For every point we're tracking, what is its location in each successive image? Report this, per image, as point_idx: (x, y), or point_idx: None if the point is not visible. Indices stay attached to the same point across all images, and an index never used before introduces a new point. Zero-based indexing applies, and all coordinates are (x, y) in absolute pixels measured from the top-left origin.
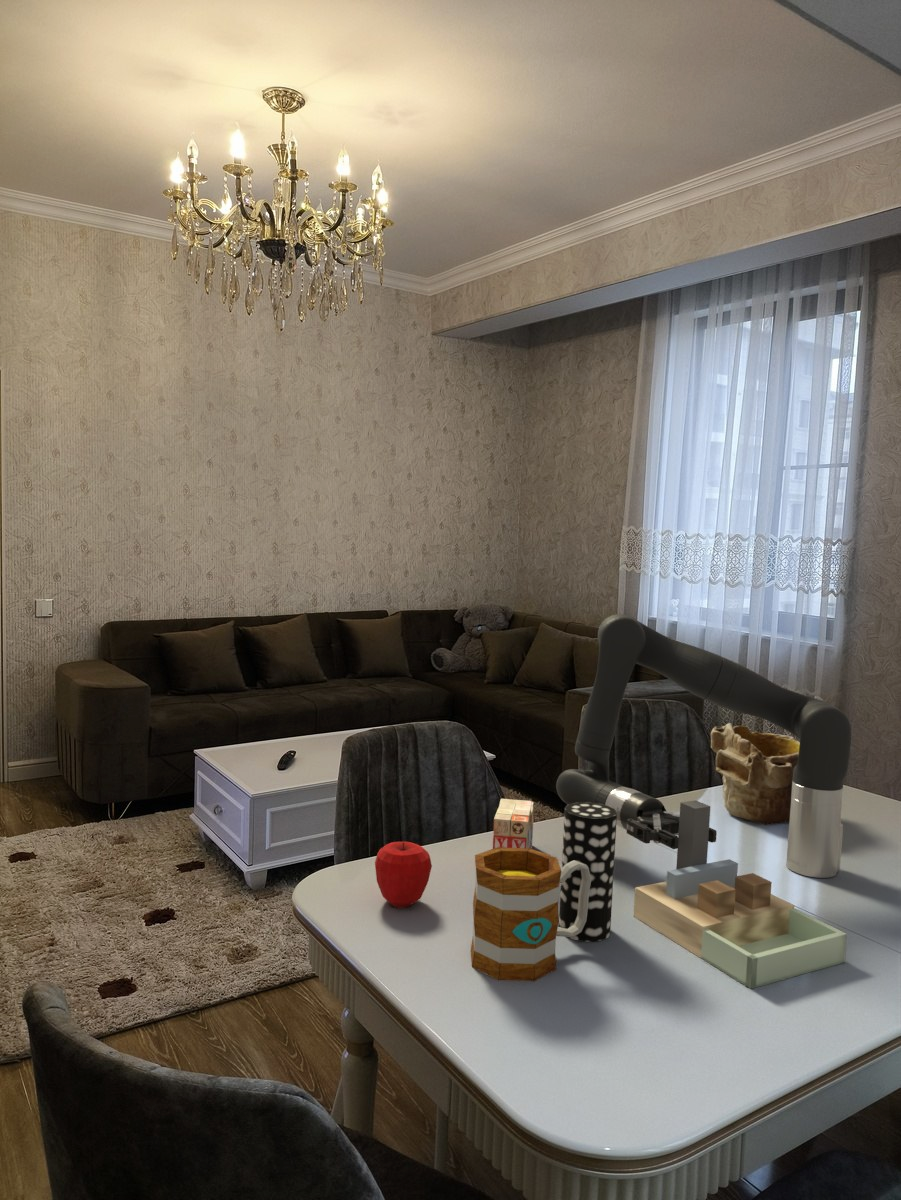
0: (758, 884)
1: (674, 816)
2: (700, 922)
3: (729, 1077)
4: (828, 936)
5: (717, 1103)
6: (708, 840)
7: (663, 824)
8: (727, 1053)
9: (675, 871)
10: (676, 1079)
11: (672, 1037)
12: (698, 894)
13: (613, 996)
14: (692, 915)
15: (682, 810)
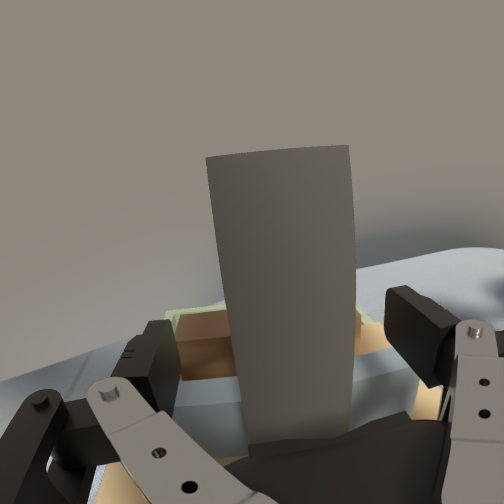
0: (219, 310)
1: (237, 485)
2: (377, 330)
3: (412, 266)
4: (195, 309)
5: (425, 258)
6: (177, 379)
7: (417, 419)
8: (406, 276)
9: (398, 360)
10: (446, 265)
11: (444, 283)
12: (360, 336)
13: (494, 311)
14: (382, 345)
15: (344, 190)
